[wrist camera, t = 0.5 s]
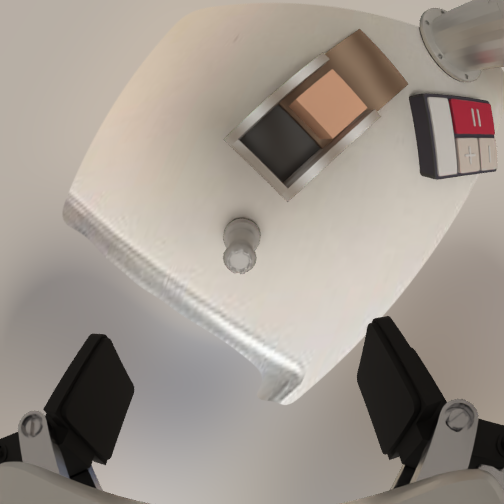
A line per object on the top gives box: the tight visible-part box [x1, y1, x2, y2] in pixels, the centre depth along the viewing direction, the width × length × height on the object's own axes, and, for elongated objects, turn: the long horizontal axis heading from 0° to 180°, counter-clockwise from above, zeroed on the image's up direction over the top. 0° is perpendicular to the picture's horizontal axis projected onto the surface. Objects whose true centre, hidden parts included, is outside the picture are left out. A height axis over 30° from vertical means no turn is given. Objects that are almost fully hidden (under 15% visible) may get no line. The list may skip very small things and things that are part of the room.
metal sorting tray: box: [223, 29, 408, 202], centre depth 25 cm, size 22×9×4 cm, turn 135°
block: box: [289, 69, 367, 139], centre depth 24 cm, size 5×5×5 cm
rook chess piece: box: [223, 218, 261, 274], centre depth 30 cm, size 4×4×8 cm
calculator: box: [409, 94, 497, 179], centre depth 26 cm, size 11×4×15 cm
